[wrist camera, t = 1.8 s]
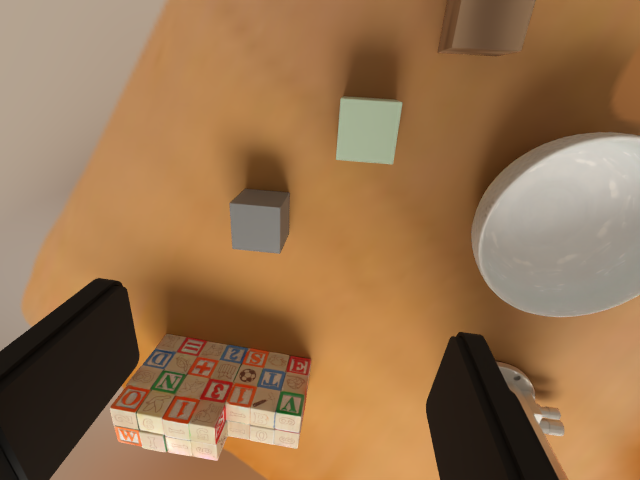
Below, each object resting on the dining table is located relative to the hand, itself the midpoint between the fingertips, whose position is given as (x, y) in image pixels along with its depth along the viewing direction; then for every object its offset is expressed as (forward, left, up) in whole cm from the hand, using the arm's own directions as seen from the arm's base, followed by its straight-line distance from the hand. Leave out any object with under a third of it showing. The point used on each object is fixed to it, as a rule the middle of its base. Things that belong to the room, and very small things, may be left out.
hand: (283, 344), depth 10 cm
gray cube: (+7, +7, -27) cm, 29 cm away
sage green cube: (-3, -3, -27) cm, 27 cm away
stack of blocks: (+12, +31, -27) cm, 43 cm away
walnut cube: (-11, -12, -27) cm, 32 cm away
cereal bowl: (-22, +4, -27) cm, 35 cm away
